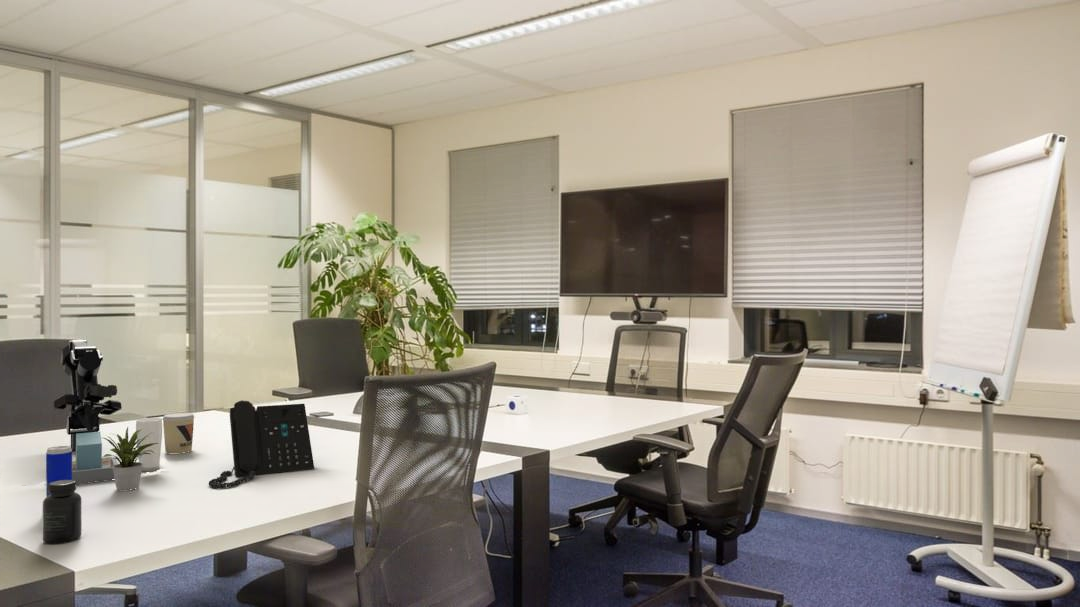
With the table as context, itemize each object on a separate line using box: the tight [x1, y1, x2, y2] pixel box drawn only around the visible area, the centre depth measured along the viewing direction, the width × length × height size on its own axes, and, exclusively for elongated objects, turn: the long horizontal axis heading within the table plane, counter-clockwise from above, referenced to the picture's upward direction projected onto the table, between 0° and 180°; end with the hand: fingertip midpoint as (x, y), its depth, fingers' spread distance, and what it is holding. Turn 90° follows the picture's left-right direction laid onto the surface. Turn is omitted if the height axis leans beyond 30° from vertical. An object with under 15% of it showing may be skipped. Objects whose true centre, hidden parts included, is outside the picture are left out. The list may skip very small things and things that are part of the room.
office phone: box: [208, 400, 315, 489], centre depth 217 cm, size 29×28×20 cm
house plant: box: [99, 426, 158, 491], centre depth 197 cm, size 14×14×16 cm
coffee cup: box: [162, 412, 195, 454], centre depth 246 cm, size 9×9×12 cm
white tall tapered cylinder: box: [135, 417, 163, 473], centre depth 218 cm, size 7×7×15 cm
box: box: [72, 457, 119, 485], centre depth 211 cm, size 14×13×4 cm
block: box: [75, 431, 103, 471], centre depth 216 cm, size 7×6×9 cm
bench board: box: [72, 456, 112, 470], centre depth 221 cm, size 11×13×2 cm
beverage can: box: [45, 445, 73, 498], centre depth 178 cm, size 5×5×15 cm
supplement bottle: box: [42, 480, 83, 545], centre depth 157 cm, size 7×7×12 cm
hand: (90, 430), depth 229 cm, fingers closed
